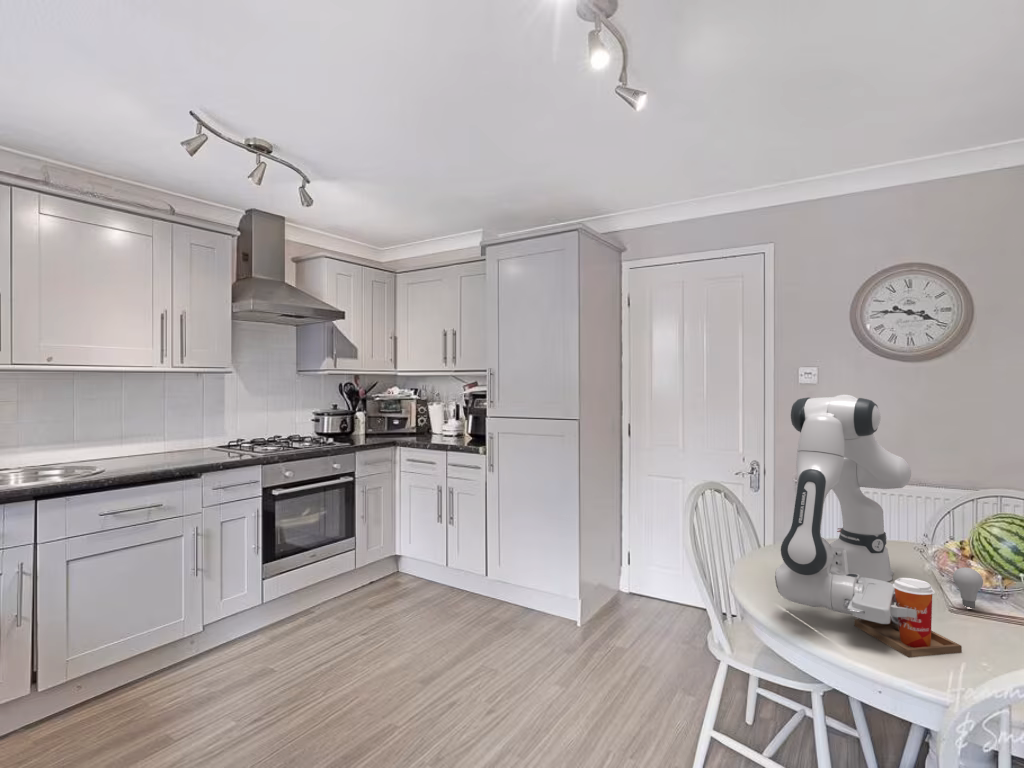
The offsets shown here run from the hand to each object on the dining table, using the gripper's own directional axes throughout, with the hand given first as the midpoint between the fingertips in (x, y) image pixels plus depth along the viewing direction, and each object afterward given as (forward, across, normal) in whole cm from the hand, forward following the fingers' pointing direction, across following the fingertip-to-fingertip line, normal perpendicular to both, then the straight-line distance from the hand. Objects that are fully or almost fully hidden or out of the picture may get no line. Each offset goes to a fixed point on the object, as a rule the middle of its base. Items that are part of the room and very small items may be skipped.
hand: (917, 608), depth 123 cm
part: (-4, +6, +8) cm, 11 cm away
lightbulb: (+10, +32, +9) cm, 35 cm away
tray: (-3, +1, +9) cm, 9 cm away
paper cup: (-1, 0, +8) cm, 8 cm away
